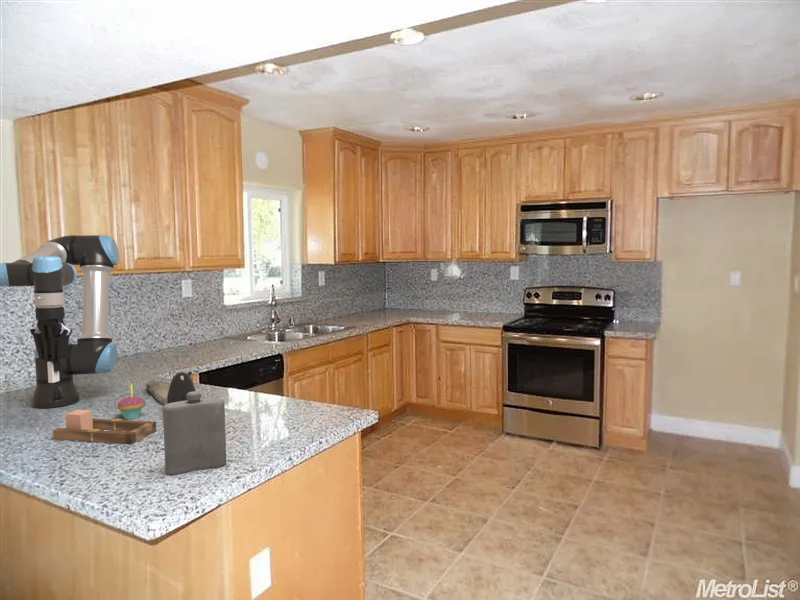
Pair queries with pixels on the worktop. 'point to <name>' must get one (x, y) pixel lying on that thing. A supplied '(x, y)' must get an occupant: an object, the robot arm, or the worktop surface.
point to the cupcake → (131, 406)
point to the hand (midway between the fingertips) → (54, 381)
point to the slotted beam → (97, 434)
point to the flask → (194, 434)
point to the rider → (79, 420)
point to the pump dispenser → (180, 387)
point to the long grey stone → (158, 390)
